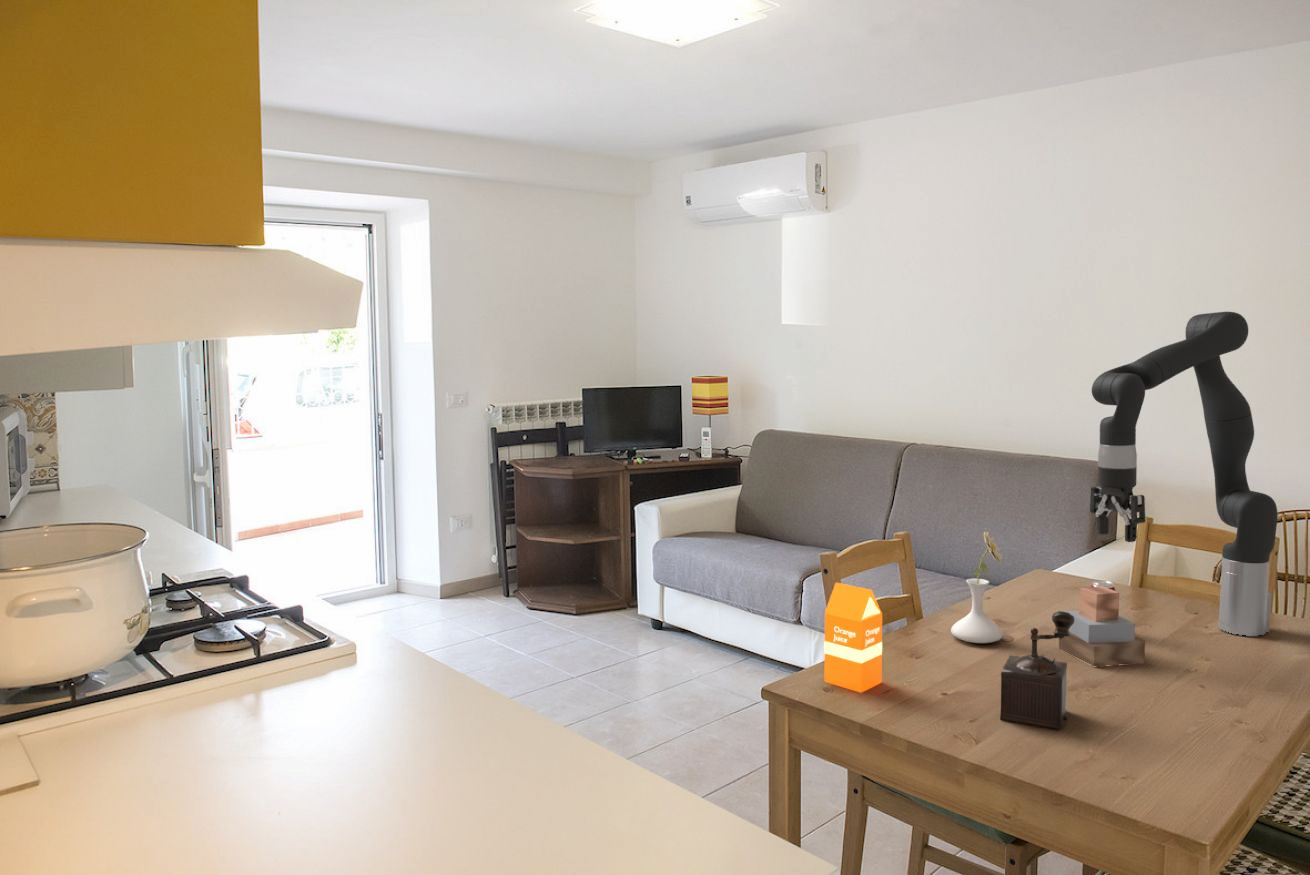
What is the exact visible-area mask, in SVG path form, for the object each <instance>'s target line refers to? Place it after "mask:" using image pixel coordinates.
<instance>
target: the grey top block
mask: <svg viewBox="0 0 1310 875" xmlns="http://www.w3.org/2000/svg"><path fill="white" fill-rule="evenodd" d="M1065 612H1068V613H1070V614H1071V615H1072V616H1074V624H1073V625H1072V626H1071V627H1070V628H1069V631H1070V632H1071V633H1073V634H1075V635H1076V636H1078V637H1079V638H1081V639H1082V640H1084V641H1086V642H1087V643H1113V642H1134V638H1136V636H1135V634H1136V623H1135V622H1133V621H1131V620H1129V619H1127V618H1126V617H1124V616H1121V615H1120V614H1119V615H1118V620H1112V621H1100V622H1095V621H1093V620H1090V619H1088V618H1086V617H1083V616H1081V615H1079V610H1066V611H1065Z"/></svg>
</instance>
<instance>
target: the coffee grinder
mask: <svg viewBox="0 0 1310 875" xmlns="http://www.w3.org/2000/svg"><path fill="white" fill-rule="evenodd" d="M1051 621H1052V622H1053V624H1054V626H1055V629H1054V632H1053V634H1038V633H1039V630H1038V628H1036V627H1031V629H1030V640H1031V653H1030V654H1026V655H1023V656H1019V655H1008V658H1007V660H1006V662H1005V663H1004V665H1003V667H1002V669H1001V671H1000V672H1001V673H1000V681H1001V682H1000V716H999V719H1000V721H1004V722H1007V723H1013V724H1018V725H1019V724H1020V725H1025V726H1029V727H1030V726H1031V727H1035V728H1040V729H1041V728H1042V729H1047V730H1052V731H1061V730H1062V728H1063V726H1064V724H1065V722H1066V721H1067V720H1068V719H1069V713H1068V712H1067V708H1066V705H1067V700H1066V699H1067V670H1068V669H1067V668H1068V667H1067V666H1068V664H1067V662H1065V661H1058V660H1056V657H1054V659H1050V658H1048V657H1046V656H1045V655H1043V654H1038V641H1040V640H1053V639H1059V638H1060V639H1062V638H1064V637H1069V636H1070V634H1069V628H1070V627H1071V626H1072V625H1073V624H1074V616H1072V615H1071V614H1070V613H1068V612H1066V611H1062V610H1059V611H1055V612H1053V614H1052V616H1051Z"/></svg>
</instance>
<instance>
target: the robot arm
mask: <svg viewBox="0 0 1310 875" xmlns="http://www.w3.org/2000/svg"><path fill="white" fill-rule="evenodd" d="M1184 332H1185V339H1183V340H1179V341H1177V342H1174V343H1171V344H1168V345H1164V346H1161V347H1159V348H1157V349H1155V350H1153V351H1150V352H1149V353H1146V354H1145V355H1144V356H1141V357H1140V358H1138V359H1137V360H1135V361H1132V362H1130V363H1127V364H1124V365H1121V366H1117V367H1114V368H1112V369H1109V370H1107V371H1104V372H1103V373H1101V374H1100V375H1098V376H1097V377H1096V378H1095V380H1094V381H1093V383H1092V386H1091V394H1092V398H1093V399H1094V400H1095V401H1096V402H1097V403H1099V404H1102V405H1106V406H1116V407H1115V411H1114V413H1113V415H1111V416H1106V417H1103V418H1102V419H1101V420H1100V423H1099V447H1098V454H1097V484H1098V486H1092V487H1091V488H1090V503H1089V512H1090V513H1091V514H1094V515H1095V517H1096V518H1097V520H1096V522H1097V524H1096V526H1097V533H1098V534H1099V535H1107V534H1109V526H1110V525H1109V524H1110V523H1109V522H1110V520H1109V519H1110V518H1109V517H1108V516H1109V515H1110V513H1111V512H1112V511H1114V512H1117V513H1118V515H1119V516H1120V517H1121V518H1123V521H1124V523H1125V525H1124V541H1125V542H1127V543H1134V542H1136V541H1137V538H1138V525H1139V524H1144V523H1146V505H1145V504H1146V502H1145V500H1146V499H1145V498H1146V497H1145V495H1143V494H1138V495H1137V494H1136V495H1134V493H1133V490H1134V488H1135V487H1136V486H1137V472H1138V471H1137V470H1138V469H1137V462H1138V461H1137V460H1138V458H1137V457H1138V454H1137V447H1136V446H1137V445H1136V443H1137V442H1136V441H1137V440H1136V437H1137V433H1136V431H1137V428H1136V427H1137V423H1138V420H1139V417H1140V413H1141V410H1142V408H1143V404H1144V402H1145V401H1144V400H1145V396H1146V391H1148V390H1149V391H1150V390H1152V389H1154V388H1157V387H1158V386H1159V385H1161V384H1163V383H1165V382H1166V381H1169V380H1170V379H1172V378H1174V377H1175V376H1178V375H1179V374H1181V373H1182V372H1185V371H1186V370H1189V369H1190V368H1192V367H1193V371H1194V373H1195V377H1196V380H1197V385H1198V390H1199V394H1200V398H1201V404H1202V405H1201V406H1202V410H1203V418H1204V424H1205V429H1206V435H1207V439H1208V444H1209V447H1210V449H1209V450H1210V454H1211V462H1212V467H1213V475H1214V476H1213V477H1214V488H1215V490H1214V491H1215V505H1216V511H1217V514H1218V516H1219V519H1220V520H1221V521H1222V522H1223V523H1224V524H1225V525H1227V526H1230V527H1232V528H1234V529H1235V528H1236V534H1235V535H1236V537H1235V540H1234V541H1233V542H1228V543H1226V544H1225V543H1224V545H1223V547H1222V555H1221V556H1222V557H1221V574H1220V575H1221V577H1220V578H1221V579H1220V580H1221V581H1220V592H1219V593H1220V594H1219V597H1220V598H1219V613H1218V614H1219V616H1218V629H1219V630H1220V631H1222V630H1223V631H1222V632H1225V631H1226V632H1225V633H1228V632H1229V633H1228V634H1231V633H1232V635H1236V634H1239V635H1238V636H1242V635H1246V636H1245V637H1259V636H1258V635H1262V636H1264V634H1265V635H1266V634H1267V633H1266V632H1269V633H1270V622H1271V620H1270V619H1271V603H1272V602H1271V601H1272V599H1271V598H1272V593H1271V592H1269V571H1270V556H1271V553H1272V551H1273V550H1274V547H1275V544H1276V542H1275V541H1276V535H1277V526H1278V525H1277V524H1278V516H1279V515H1278V506H1277V504H1276V502H1275V500H1274V499H1273V498H1272V497H1271V496H1270V495H1268V494H1266V493H1264V492H1259V491H1254V490H1251V489H1250V487H1249V486H1250V485H1249V483H1248V478H1247V472H1246V462H1247V458H1248V457H1249V453H1250V452H1251V447H1252V446H1253V442H1254V440H1255V439H1254V438H1255V427H1254V420H1253V414H1252V410H1251V407H1250V403H1249V401H1248V400H1247V399H1246V397H1245V396H1244V395H1243V393H1242V392H1241V391H1240V390H1239V388H1237V386H1236V385H1235V384H1234V382H1232V380H1231V379H1230V378H1229V376H1228V375H1227V373H1226V371H1225V370H1224V366H1223V363H1222V360H1221V356H1222V355H1224V354H1228V353H1231V352H1234V351H1237V350H1239V349H1240V348H1241V347H1243V345H1244V344H1245V343H1246V341H1247V339H1248V336H1249V325H1248V322H1247V320H1246V319H1245V317H1244V316H1243V315H1242V314H1240V313H1237V312H1235V311H1220V312H1219V311H1218V312H1209V313H1199V314H1196V315H1193V316H1191V318H1190V319H1189V320H1188V321H1187V323H1186V327H1185V331H1184ZM1138 515H1139V516H1138Z"/></svg>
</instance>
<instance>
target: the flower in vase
mask: <svg viewBox="0 0 1310 875" xmlns="http://www.w3.org/2000/svg"><path fill="white" fill-rule="evenodd" d="M983 539H984V542H985V545H986V547H987V548H986V549H985V552H984V553H983V555H982V557H981V559H980V562H979V566H978V568H976V569H975V570H974V571H973V572H972V575H976V576H977V578H968V579H966V583H967V585H968V587H969V589H970V593H971V600H972V601H971V604H972V605H971V610H970V612H969V613H968V614H967V615H966V616H964V617H963V618H960V620H958V621H957V622H955V623H954V624H953V625H952V626H951V629H950V632H951V634H952V636H954V637H955V638H957V639H959V640H961V641H964V642H968V643H975V644H989V643H994V642H999V641H1000V640H1001V639H1002V638H1003V636H1004V633H1003V631H1002V629H1001V628H1000V627H999V626H998V625H997V624H996V623H995V622H994V621H992V620H991V619H990V618H989V617H988V616H987V615H986V614H985V613H984V610H983V600H984V599H983V598H984V593H985V590H986V588H987V587H988V585H989V584H990V581H989V580H987V579H984V578H980V575H981V574H983V573H984V574H987V573H988V570H989V568H988V566H987V564H986V562H983V560H984V558H985V556H986V555H987V553H988V552H989V553H990V554H991V556H992V558H993V559H994V561H995V562H997V563H998V564H1002V563H1003V561H1002V560H1003V556H1002V555H1001V553H1000V551H1001V550H1000V549H1001V548H1000V547H998V545H997V544H996V542H995V538H994V537H991V536H990V532H989V531H984V532H983Z"/></svg>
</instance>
